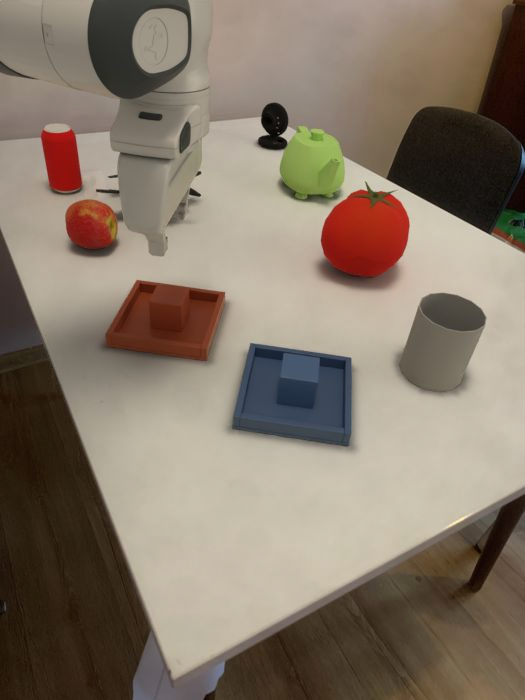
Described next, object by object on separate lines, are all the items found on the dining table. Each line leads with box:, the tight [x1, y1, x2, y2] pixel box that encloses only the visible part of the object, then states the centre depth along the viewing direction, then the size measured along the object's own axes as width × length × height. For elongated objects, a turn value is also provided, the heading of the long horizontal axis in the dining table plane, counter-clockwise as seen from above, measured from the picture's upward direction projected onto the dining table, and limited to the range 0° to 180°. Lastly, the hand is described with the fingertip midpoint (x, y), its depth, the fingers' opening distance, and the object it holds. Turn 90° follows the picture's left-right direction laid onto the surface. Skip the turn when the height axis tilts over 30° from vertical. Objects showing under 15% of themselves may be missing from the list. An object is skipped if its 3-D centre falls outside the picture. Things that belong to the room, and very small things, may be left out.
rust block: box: [149, 283, 189, 332], centre depth 75 cm, size 4×4×4 cm
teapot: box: [279, 125, 346, 200], centre depth 113 cm, size 20×13×13 cm
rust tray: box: [104, 279, 226, 362], centre depth 76 cm, size 14×14×2 cm
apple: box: [64, 198, 119, 250], centre depth 89 cm, size 8×8×8 cm
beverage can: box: [40, 122, 83, 194], centre depth 104 cm, size 6×6×12 cm
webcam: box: [257, 102, 289, 150], centre depth 133 cm, size 8×8×10 cm
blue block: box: [276, 353, 320, 409], centre depth 66 cm, size 4×4×4 cm
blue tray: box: [232, 342, 353, 447], centre depth 67 cm, size 14×14×2 cm
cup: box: [399, 292, 488, 393], centre depth 71 cm, size 8×8×10 cm
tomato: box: [320, 180, 411, 278], centre depth 88 cm, size 16×14×14 cm
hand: (169, 233), depth 64 cm, fingers open, 8 cm apart
